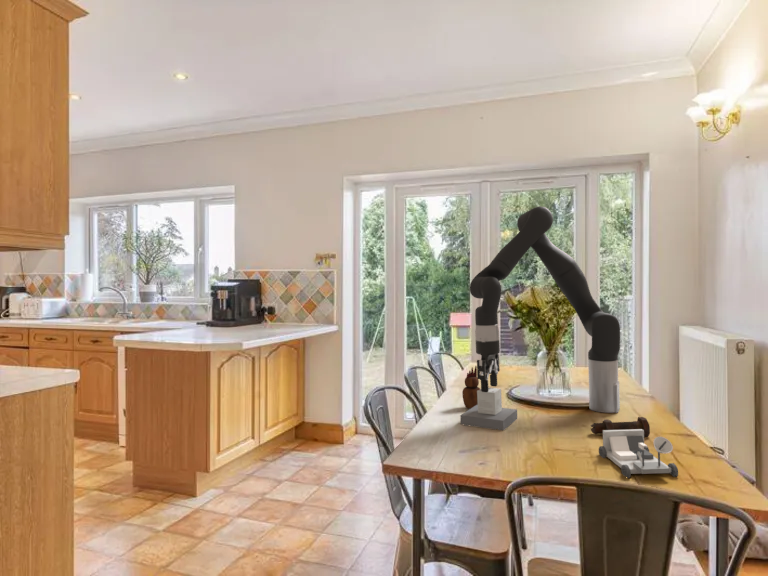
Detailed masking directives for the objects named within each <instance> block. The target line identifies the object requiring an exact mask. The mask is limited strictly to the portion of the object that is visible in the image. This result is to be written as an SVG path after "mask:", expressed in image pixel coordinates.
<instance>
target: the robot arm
mask: <svg viewBox="0 0 768 576" xmlns="http://www.w3.org/2000/svg"><path fill="white" fill-rule="evenodd" d="M553 223H554V216H553V213H552V212H551V211H550V209H549V208H547V207H546V206H541V205H540V206H535V207H532V208H531V209H529V210H528V211H526V212H524V213H522V214H521V215H520V216H519V217H518V218H517V222H516V226H517V229H518V233H517V234H516V235H515V236H514V237H513V238H512V239H511V240H510V241H509V242H508V243H506V244H505V245H504V247H502V248H501V250H499V252H498V253H497V254H496V255H495V257H494V258H493V259H492V260H491V262H490V263H489V264H488V265H487V266H486V267H484V268H483V269H482V270H481V271H480V272H478V273H477V274H476V275H475V276H474V277H473V278H472V279H471V282H470V284H469V293H470V295H471V296H472V297H474V298H475V299H480V300H481V299H482V302H481V306H477V307H476V308H475V312H474V314H475V330H474V333H475V334H474V336H475V337H474V338H475V353H476V354H477V355H480V359H476V366H477V379H478V380H479V381H480V389H481V391H482V392H488V391H489V388H490V387H489V384H490V386H491V387H497V386H498V375H499V372H500V370H501V369H500V352H501V345H500V343H501V342H500V329H499V321H498V310H499V307H500V306H499V305H500V302H501V297H502V285H501V282H500V281H502V280H505V279H507V277H509V275H510V274H511V272H512V271H513V270H514V269H515V267H516V266H517V265H518V263H519V262H520V260H521V259H522V258H523V257H524V255H525V254H526V253H527V252H528V251H529V250H530V249H531V248H532V250H533V251H534V252H535V254H537V257H538V258H539V259H540V261H541V263H542V264H543V265H544V266H545V268H546V269H547V271H548V272H549V274H550V276H551V278H552V279H553V281H554V283H556V285H557V287H558V288H559V289H560V291H561V292H562V294H563V295H564V297H565V298H566V299H567V300H568V302H569V304H570V305H571V306H572V308H573V309H574V310H575V312H576V315H577V316H578V318H579V320H580V322H581V324H582V326H583V328H584V329H585V332H586V333H587V334H588V335H589V336H591V347H590V349H589V350H588V352H587V359H588V360H587V362H588V363H587V364H588V397H589V401H588V402H589V403H588V405H589V410H590V411H593V412H597V413H598V412H599V413H606V414H608V413H609V414H610V413H619V411H620V409H621V406H620V405H621V404H620V403H621V402H620V399H621V398H620V397H621V395H620V381H619V359H618V357H619V353H620V350H621V349H620V348H621V347H620V346H621V327H620V322H619V320H618V318H617V317H616V316H614V315H613V314H611V313H607V312H604V311H603V310H602V309H601V307H600V306H599V305H598V304H597V302H596V301H595V299H594V298H593V296H592V293H591V291H590V287H589V284H588V281H587V278H586V276H585V274H584V273H583V270H582V269H581V267H580V266H579V264H578V263H577V261H576V260H575V258H573V257H572V256H571V255H569V254H568V253H566V252H565V251H564V250H562V249H560V248H559V247H558V246H556V245H555V244H553V242H552V241H551V240H550V238H549V237H548V236H547V234H546V233H547V232H548V231H549V230H550V229H551V227H552V226H553Z"/></svg>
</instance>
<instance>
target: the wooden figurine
mask: <svg viewBox="0 0 768 576" xmlns="http://www.w3.org/2000/svg"><path fill="white" fill-rule="evenodd" d="M479 383H480V379H477V365H475V367H474V368H473V367H471V370H469V372H467V373H466V377H465V378H464V384H465V387H463V389H462V392H461V394H462V401H463V404H464V406H465V408H466V409H468V410H469V409H471V408H472V407H474V406H475V405H478V401H477V391H478V390H480V389H481V387H479V385H480V384H479Z"/></svg>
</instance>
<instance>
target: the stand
mask: <svg viewBox="0 0 768 576" xmlns="http://www.w3.org/2000/svg"><path fill="white" fill-rule="evenodd" d="M459 417H460V418H459V419H460V425H461V424H464V425H463V426H468V425H470V427H476V428H481V429H482V428H484V429H488V430H489V429H491V430H496V429H498V430H497V431H503V430H504V431H505V430H506V429H508V427H509V426H510V425H512V424H513V423H514V422H515V421H516V420H518V409H517V408H509V407H502V411H501V412H499V413H498V414H496V415H491V414H482V413H478V405H475V406H474V407H472V408H471V409H469V408H468V410H466V411H464V412H463V413H461V414H460V415H459Z"/></svg>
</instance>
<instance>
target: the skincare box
mask: <svg viewBox="0 0 768 576" xmlns="http://www.w3.org/2000/svg"><path fill="white" fill-rule="evenodd" d="M488 388H489V391H488V392H482V391H481V388H480V390H478V391H477V401H478V413H482V414H491V415H496V414H498V413H499V412H501V411H502V408H503V407H502V406H503V403H502V402H503V401H502V389H501V388H497V387H495V388H494V387H488Z"/></svg>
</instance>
